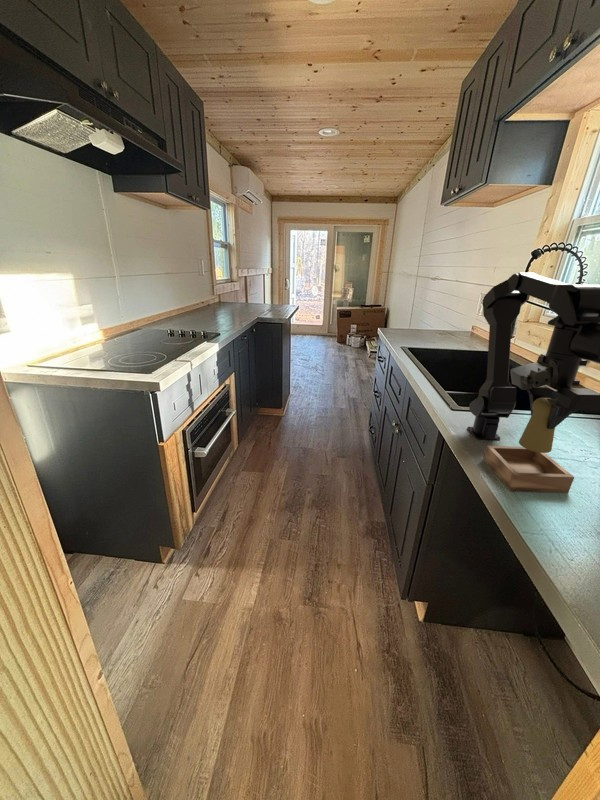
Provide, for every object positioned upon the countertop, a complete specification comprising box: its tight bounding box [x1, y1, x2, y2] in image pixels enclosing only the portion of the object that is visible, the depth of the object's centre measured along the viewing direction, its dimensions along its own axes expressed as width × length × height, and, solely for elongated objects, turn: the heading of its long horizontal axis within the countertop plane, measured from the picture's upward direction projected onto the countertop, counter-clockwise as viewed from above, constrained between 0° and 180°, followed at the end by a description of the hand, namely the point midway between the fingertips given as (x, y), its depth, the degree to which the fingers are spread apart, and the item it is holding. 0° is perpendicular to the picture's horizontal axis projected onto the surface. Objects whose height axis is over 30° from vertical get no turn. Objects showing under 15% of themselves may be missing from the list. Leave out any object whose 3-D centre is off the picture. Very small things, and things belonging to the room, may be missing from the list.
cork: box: [518, 397, 556, 454], centre depth 70 cm, size 6×6×11 cm
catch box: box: [482, 445, 575, 494], centre depth 74 cm, size 12×12×4 cm
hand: (541, 423), depth 70 cm, fingers closed on cork, 5 cm apart
